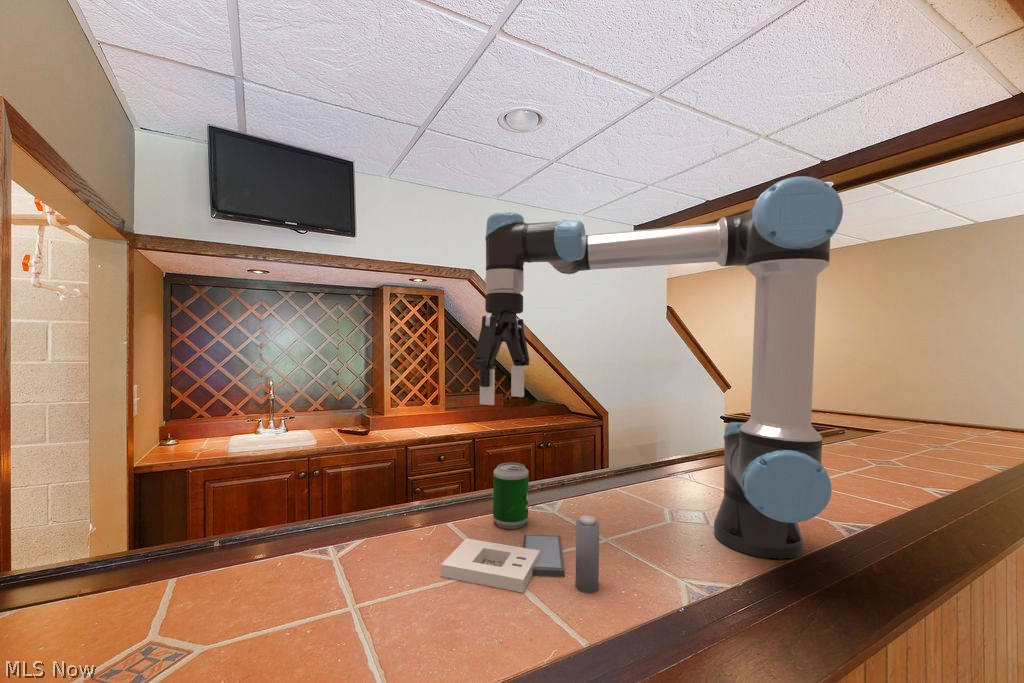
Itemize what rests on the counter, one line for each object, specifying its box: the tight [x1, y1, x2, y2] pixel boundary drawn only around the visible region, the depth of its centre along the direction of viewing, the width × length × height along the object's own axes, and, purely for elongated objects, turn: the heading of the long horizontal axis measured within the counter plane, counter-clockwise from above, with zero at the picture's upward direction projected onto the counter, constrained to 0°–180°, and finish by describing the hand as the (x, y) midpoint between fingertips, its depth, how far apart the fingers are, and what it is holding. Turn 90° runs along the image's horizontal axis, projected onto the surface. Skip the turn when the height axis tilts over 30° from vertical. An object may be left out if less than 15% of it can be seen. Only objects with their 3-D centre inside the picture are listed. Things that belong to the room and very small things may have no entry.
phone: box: [522, 534, 565, 578], centre depth 79 cm, size 7×13×1 cm, turn 177°
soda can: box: [492, 462, 530, 530], centre depth 93 cm, size 8×8×12 cm
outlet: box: [440, 538, 540, 594], centre depth 74 cm, size 14×10×2 cm
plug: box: [574, 514, 600, 594], centre depth 69 cm, size 4×4×11 cm
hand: (503, 400), depth 87 cm, fingers open, 13 cm apart
